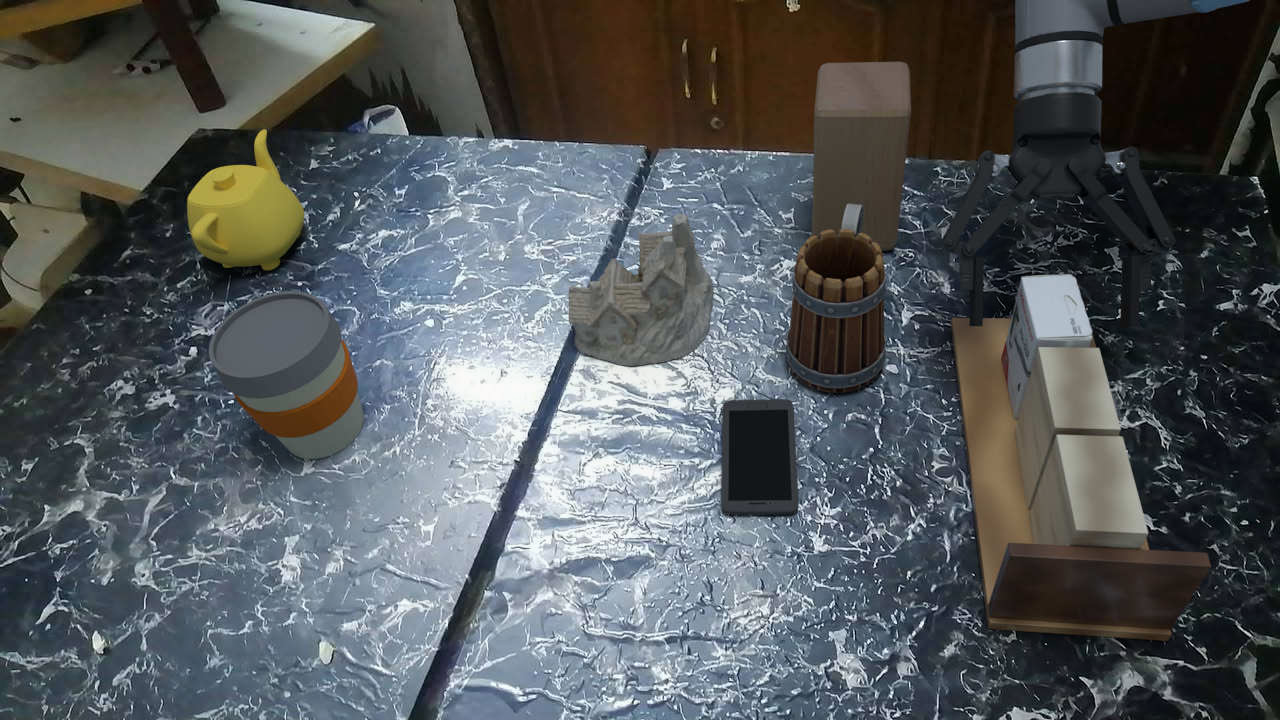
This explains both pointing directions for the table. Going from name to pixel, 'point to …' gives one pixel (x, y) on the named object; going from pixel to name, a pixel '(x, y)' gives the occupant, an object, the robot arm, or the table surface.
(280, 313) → the reusable coffee cup
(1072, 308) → the ink box
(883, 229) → the wooden block
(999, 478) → the shelf
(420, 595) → the table surface
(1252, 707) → the table surface
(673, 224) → the ceramic cottage
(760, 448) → the cell phone
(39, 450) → the table surface
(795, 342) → the mug
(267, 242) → the teapot
